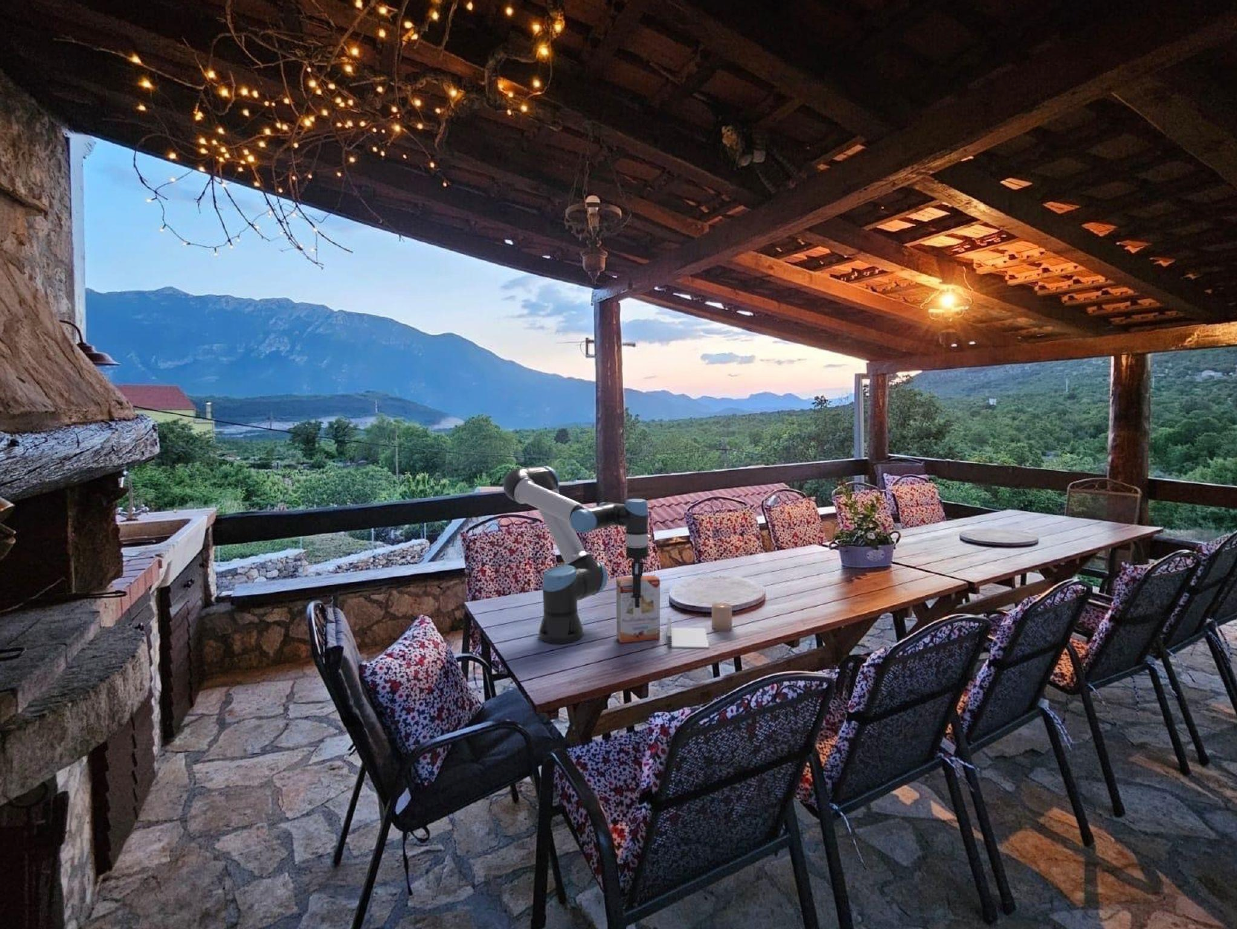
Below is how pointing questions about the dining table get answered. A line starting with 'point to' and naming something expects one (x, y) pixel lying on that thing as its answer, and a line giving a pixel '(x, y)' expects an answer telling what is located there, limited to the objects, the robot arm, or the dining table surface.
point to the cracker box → (650, 604)
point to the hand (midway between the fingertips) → (638, 612)
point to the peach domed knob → (721, 617)
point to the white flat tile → (686, 637)
